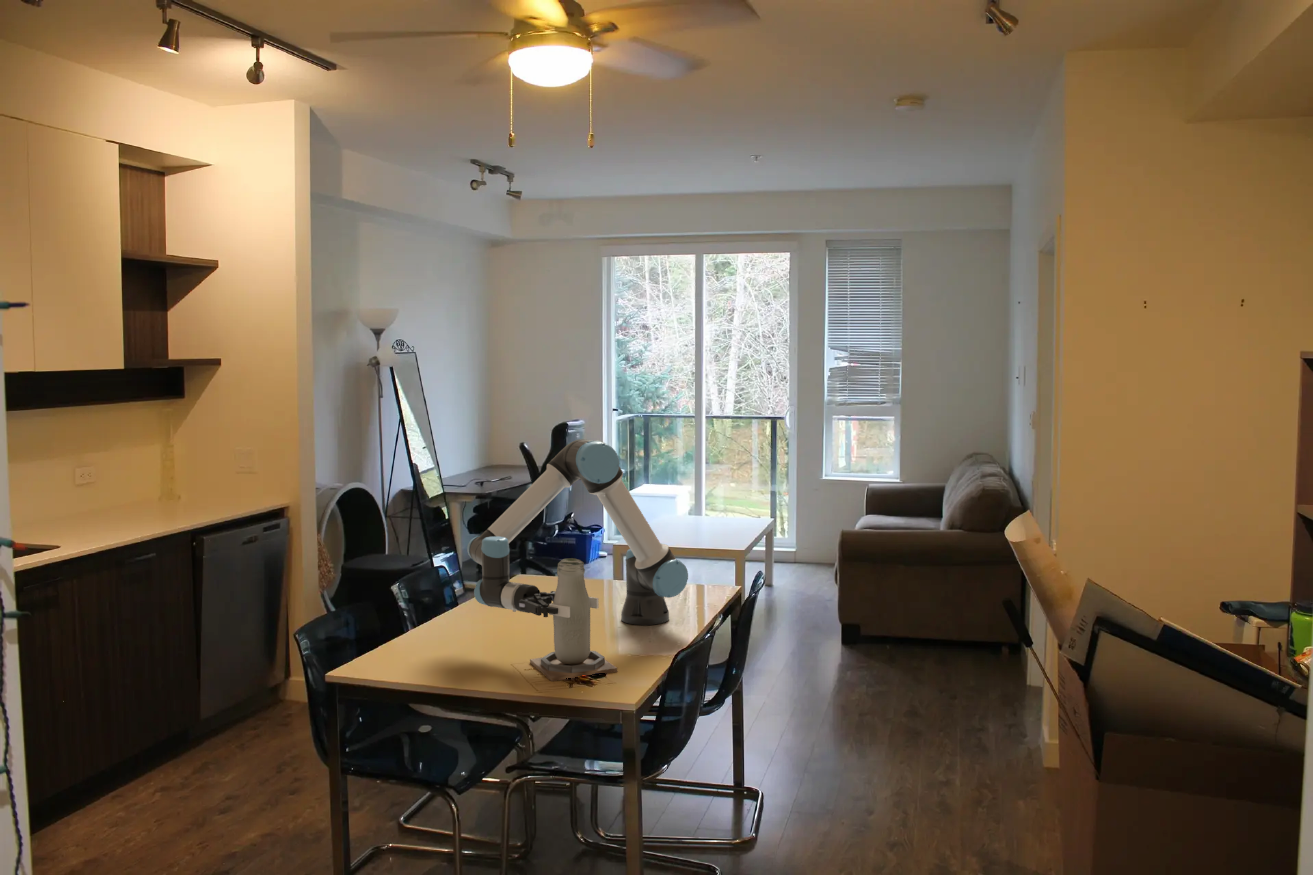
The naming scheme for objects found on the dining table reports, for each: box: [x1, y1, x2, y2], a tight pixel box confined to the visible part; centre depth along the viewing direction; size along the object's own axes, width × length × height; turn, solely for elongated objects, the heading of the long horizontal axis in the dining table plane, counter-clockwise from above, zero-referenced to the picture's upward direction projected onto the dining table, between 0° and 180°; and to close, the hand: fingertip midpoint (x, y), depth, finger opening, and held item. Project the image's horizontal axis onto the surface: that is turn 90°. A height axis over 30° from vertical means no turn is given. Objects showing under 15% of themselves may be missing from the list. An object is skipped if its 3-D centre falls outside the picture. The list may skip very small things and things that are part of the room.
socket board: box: [529, 650, 618, 682], centre depth 260 cm, size 18×18×2 cm
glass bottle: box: [552, 557, 591, 665], centre depth 259 cm, size 10×10×28 cm
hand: (583, 607), depth 257 cm, fingers open, 11 cm apart
